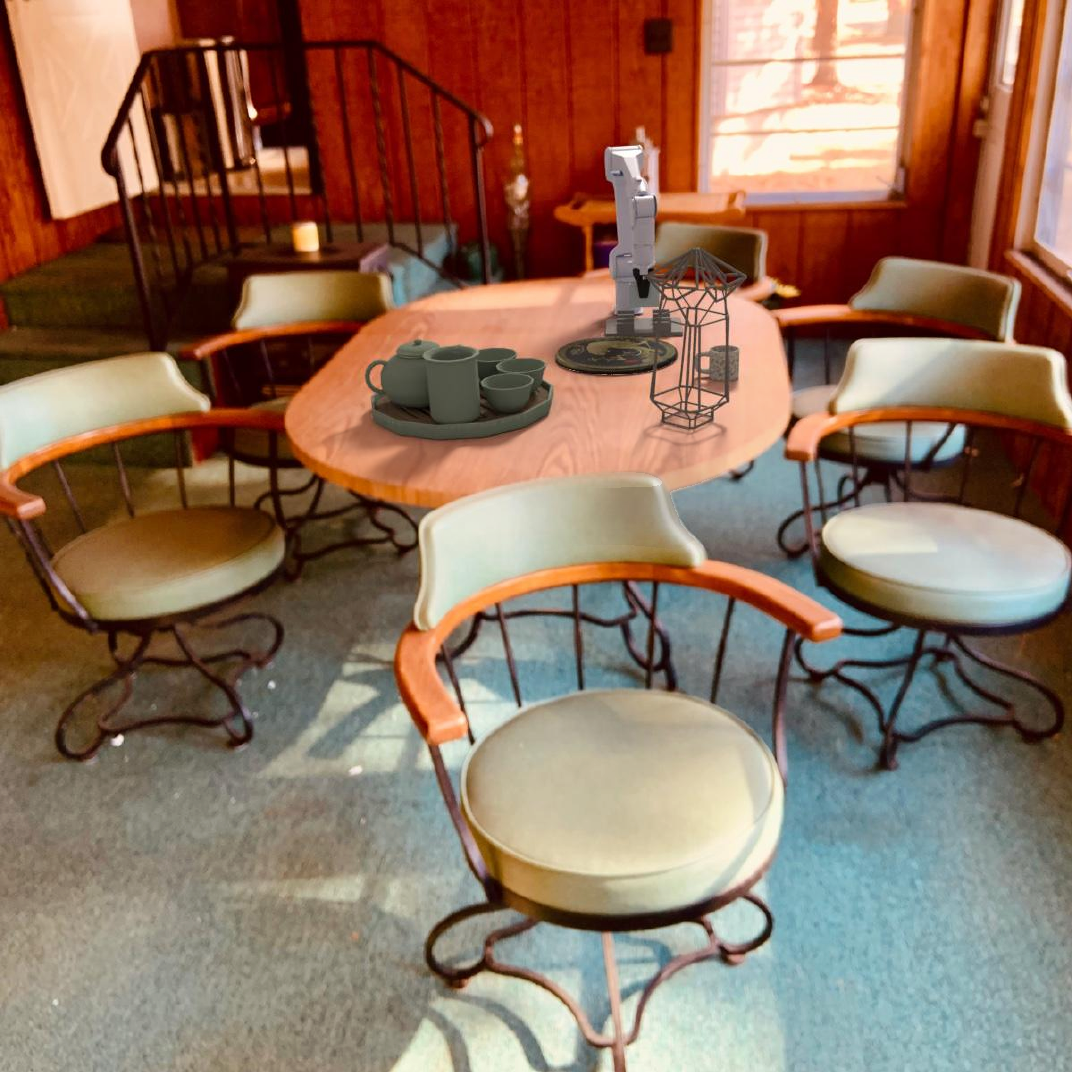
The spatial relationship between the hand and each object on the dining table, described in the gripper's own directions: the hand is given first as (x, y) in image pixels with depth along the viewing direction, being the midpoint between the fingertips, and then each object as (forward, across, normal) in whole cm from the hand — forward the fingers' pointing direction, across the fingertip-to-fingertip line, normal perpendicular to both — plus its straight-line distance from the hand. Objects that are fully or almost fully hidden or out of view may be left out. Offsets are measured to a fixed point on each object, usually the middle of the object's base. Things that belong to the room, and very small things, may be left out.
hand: (643, 296), depth 282 cm
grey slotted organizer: (+9, 0, 0) cm, 9 cm away
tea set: (+9, +61, -40) cm, 74 cm away
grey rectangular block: (+2, 0, 0) cm, 3 cm away
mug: (+9, +43, +16) cm, 47 cm away
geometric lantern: (+9, +72, +9) cm, 73 cm away
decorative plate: (+9, +25, -7) cm, 28 cm away
